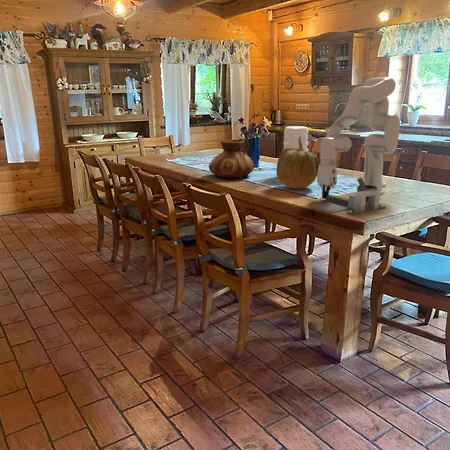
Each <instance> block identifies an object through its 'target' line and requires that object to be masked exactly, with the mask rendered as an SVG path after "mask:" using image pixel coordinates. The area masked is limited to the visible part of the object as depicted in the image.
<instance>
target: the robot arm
mask: <svg viewBox="0 0 450 450" xmlns="http://www.w3.org/2000/svg"><path fill="white" fill-rule="evenodd" d="M396 87H397V86H396V81H395V79H393V78H392V77H389V76H388V77H387V76H386V77H384V76H383V77H371V78H368V79H366V80H364V82H363V85H362V86H361V85H360V86H355V87H354V88H353V89H352V91H351V92H350V95H349V98H348V100H347V103H346V104H345V107H344V110H343V112H342V114H341V115H340V116H339V117H338V118H337V119H336V120H335V121H334V122H333V123H332V125H330V127H329V129H328V131H327V134H326V136H325V137H321V139H320V147H319V167H318V172H317V177H316V182H317V185H318V186H319V187H320V188H321V192H322V193H321V198H322V199H324V200H326V195H330V191H331V189H335V186H336V185H338V184H337V183H338V172H337V170H338V169H337V166H336V152H342V153H344V152H348V151H349V150H350V149H351V147H352V146H353V145H352V140H351V139H350V138H349V137H347V136H344V135H343V136H342V135H340V134H341V132H342V131H343V130H345V128H347V127H348V126H351V125H353V124H355V123H357V122H358V121H360V117H361V115H362V113H363V110H364V108H365V106H366V105H371V110H370V119H369V128H370V129H371V130H372V131H374V132H382V133H384V134H382V133H381V134H380V133H371V134H368V135H367V136H366V137H365V139H364V142H363V143H364V144H363V146H364V166H363V167H364V169H363V182H364V184H365V185H371V186H376V187H377V190H379V191H380V195H382V194H384V193H385V191H384V190H383V188H386V187H387V183H382V180H383V173H384V171H383V170H384V169H383V168H384V156H383V154H385V155H386V154H387V155H389V154H393V153H394V152H395V151H396V149H397V147H398V142H399V136H400V129H401V119H400V116H399V115H397V114H396V113H392V112H389V110H390V109H389V108H390V102H389V101H390V100H389V98H388V97H389V96H390V95H392V94H393V93H394V91H396Z"/></svg>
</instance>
